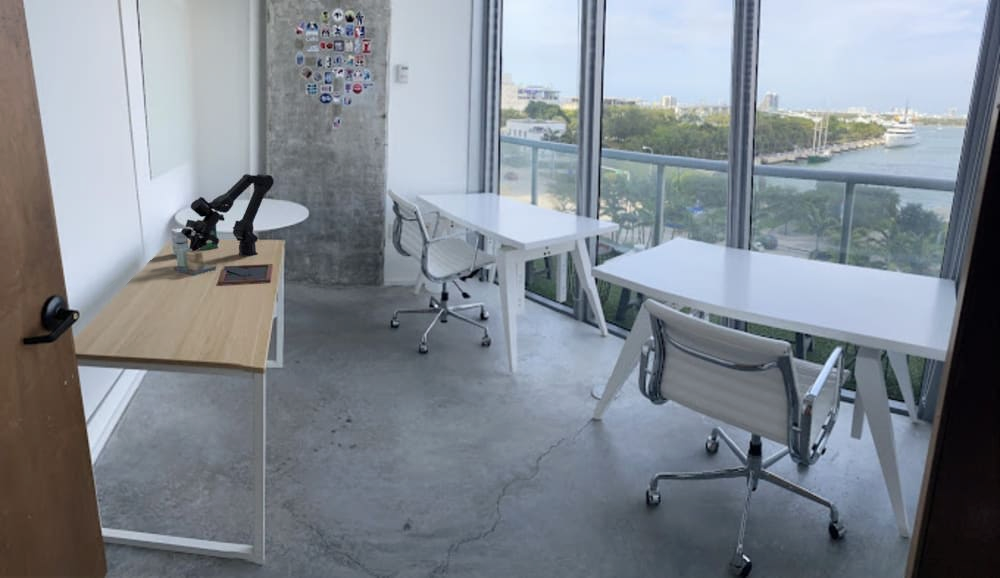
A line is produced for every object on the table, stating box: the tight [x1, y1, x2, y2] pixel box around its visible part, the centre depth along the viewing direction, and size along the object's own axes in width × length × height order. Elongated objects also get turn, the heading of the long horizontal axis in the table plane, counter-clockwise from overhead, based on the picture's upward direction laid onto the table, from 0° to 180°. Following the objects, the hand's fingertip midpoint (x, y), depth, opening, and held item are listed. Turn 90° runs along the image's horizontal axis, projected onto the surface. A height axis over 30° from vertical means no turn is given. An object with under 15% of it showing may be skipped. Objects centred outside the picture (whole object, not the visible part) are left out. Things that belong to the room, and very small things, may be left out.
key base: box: [172, 263, 217, 276], centre depth 315 cm, size 10×14×2 cm
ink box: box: [170, 228, 190, 257], centre depth 337 cm, size 8×5×12 cm, turn 39°
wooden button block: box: [186, 250, 205, 270], centre depth 310 cm, size 4×4×7 cm
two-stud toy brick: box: [176, 248, 192, 267], centre depth 315 cm, size 4×4×7 cm
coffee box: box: [199, 225, 219, 250], centre depth 350 cm, size 8×3×13 cm, turn 117°
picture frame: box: [218, 263, 274, 286], centre depth 309 cm, size 20×2×25 cm
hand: (189, 252), depth 316 cm, fingers closed, pressing on two-stud toy brick
